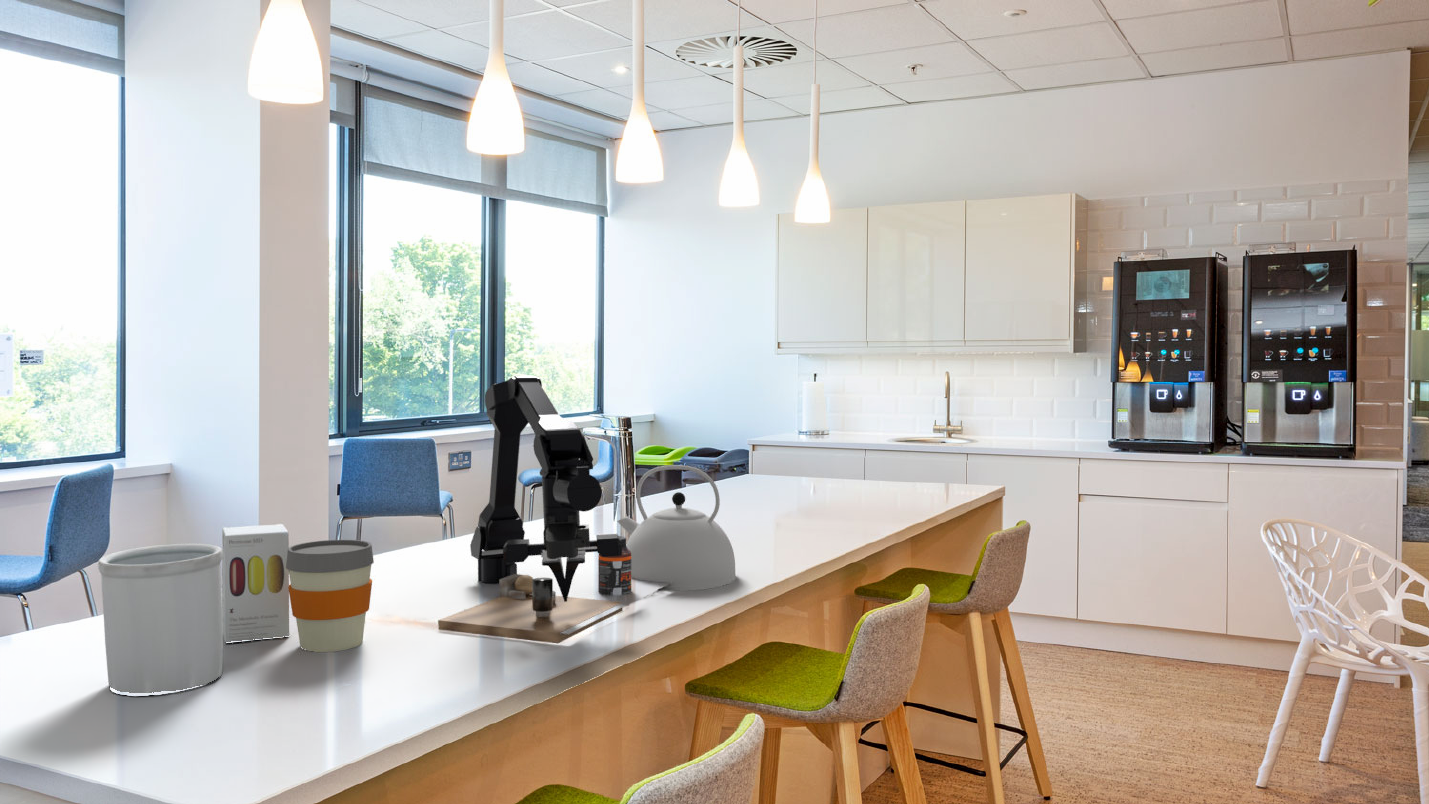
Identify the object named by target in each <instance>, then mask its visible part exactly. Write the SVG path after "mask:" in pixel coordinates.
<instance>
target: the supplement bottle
mask: <svg viewBox="0 0 1429 804" xmlns="http://www.w3.org/2000/svg"><path fill="white" fill-rule="evenodd" d="M619 536H620V535H619ZM620 538H621V543H622V555H621V556H611V557H602V556H601V555H600V554H599V553H598V564H597V565H598V576H597V577H598V578H597V579H598V581H597V582H598V585H597V586H598V589H597V590H598V594H601V595H605V596H622V595H623V596H624V595H628V594H630V593H631V592H632V578H631V551H630V550H629V549H628V548H627V547H626V544H627V537H625V536H620Z"/></svg>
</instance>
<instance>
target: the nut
mask: <svg viewBox="0 0 1429 804" xmlns="http://www.w3.org/2000/svg"><path fill="white" fill-rule="evenodd" d="M521 575H522V576H520V577H518V578H517V580H516V582H515V589H516V591H524V592H526V595H529V594H531V593H532V592H533V588H532V580H533V579H534V578H533V576H531V575H529V574H521Z"/></svg>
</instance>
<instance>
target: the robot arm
mask: <svg viewBox="0 0 1429 804" xmlns="http://www.w3.org/2000/svg"><path fill="white" fill-rule="evenodd" d="M484 405H485V406H484V407H485V409H486V415H487V417H488V419H489V420H490V423H491V425H492V427H493V428H494V433H493V435H494V436H493V444H492V445H493V447H492V459H491V460H492V462H491V471H490V472H491V474H490V475H491V476H490V488H489V499H488V500H489V501H488V503H487V505H486V506H485V507H484V508H483V510H482V511H481V512H480V514H479V515H478V524H477V527H475V530H474V533H473V536H472V539H471V541H470V545H469V547H470V555H471V557H473V558H475V559H476V560H477V582H481V583H483V584H486V585H487V584H488V585H499V579H502V578H505V577H508V576H511V575H513V574H518V563H524V562H525V561H526V560H527V559H528V558H529V557H533V556H540V558H542V561H541V565H542V566H547V567H549V568H550V570H551V572H552V574H553V576H554V577H555V580H556V583H557V585H558V587H559V590H560V593H561V596H563V599H564V602H567V598H568V597H569V593H570V590H571V585H572V581H573V578H574V576H575V573H576V570H577V568H578V567H579V564H585V563H586V553H598V555H599V554H600V555H601V556H602V557H611V556H621V555H622V543H621V538H620V535H619V534H617V533H612V534H611V533H608V534H596V539H595V540H591V539H590V525H589V524H580V523H581V522H580V512H584V513H585V512H589V511H592V510H593V509H595V508H596V507H597V506H598V505H599V503H600V502H601V499H602V495H603V488H602V487H601V483H600V482H599V481H598V479H597V478H596V477H595V476H593V475H591V474H590V472H591V471H590V470H593V469H594V465H593V461H594V457H593V456H592V455H593V454H592V452H591V450H590V448H589V446H588V444H587V441H586V438H585V436H584V434H583V433H582V431H581V430H580V428H579V427H578V426H577V425H576V423H574V422H573V421H572V420H569V419H566V418H564V417H562V416H560V414H559V413H558V411H557V409H556V407H555V405H553V402H552V401H551V399H550V398H549V397H548V395H547V393H546V392H545V390H544V388H543V384H542V380H541V378H540V377H537V376H536V375H519V376H518V375H515V376H513V377H510V378H509V379H507V380H506V381H502V382H499V383H493V384H492V385H490V387H488V389H486V391H485V393H484ZM528 424H529V426H530V428H531V429H532V431H533V432H534V434H535V435H534V439H533V446H532V447H533V452H534V456H535V457H536V459H537V461H538V464H539V466H540V468H541V469H540V470H539V475H540V476H541V484H542V485H541V488H542V506H543V507H542V508H543V511H542V512H543V528H544V529H543V534H542V535H543V542H542V543H530V539H529V538H528V539H526V538H525V534H526V531H525V529H524V522H523V519H522V518H521V517H520V515H519V513H518V511H517V509H516V508H515V507H516V493H517V483H518V482H517V481H518V469H519V455H520V446H521V443H520V442H521V434H522V432H523V431H524V430H525V428H526V427H527V425H528ZM562 558H566V563H565V571H564V566H563V561H562Z"/></svg>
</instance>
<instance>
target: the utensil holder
mask: <svg viewBox="0 0 1429 804" xmlns="http://www.w3.org/2000/svg"><path fill="white" fill-rule="evenodd" d="M222 552H223V548H221V547H220V546H218V545H214V544H207V543H174V544H160V545H150V546H149V545H148V546H143V547H137V548H131V549H130V548H129V549H125V550H120V551H116V552H113V553H110V554H106V555H103V556H102V557H101V558H99V559H98V561H97V562H98V564H97V565H98V566H97V567H98V568H97V569H98V571H99V572H100V576H101V595H102V610H103V611H102V612H103V627H104V645H105V655H106V656H105V658H106V670H107V680H108V681H107V682H108V687H109V686H110V687H111V688H113V689H115V690H117V691H120V692H129V693H152V692H153V693H154V692H161V691H176V690H183V689H187V688H192V687H195V686H200V685H204V686H206V685H205V684H207V683H209V682H211V683H213V682H215V681H217V680H218V679H219V678H220V677H221V676H222V674H223V666H224V663H223V651H224V650H223V649H224V647H223V644H224V642H223V641H224V636H223V624H222V564H221V563H222V562H221V561H222ZM218 677H219V678H218ZM217 678H218V679H217ZM216 679H217V680H216ZM214 680H215V681H214ZM212 681H213V682H212ZM209 684H210V683H209ZM207 685H208V684H207Z"/></svg>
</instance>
